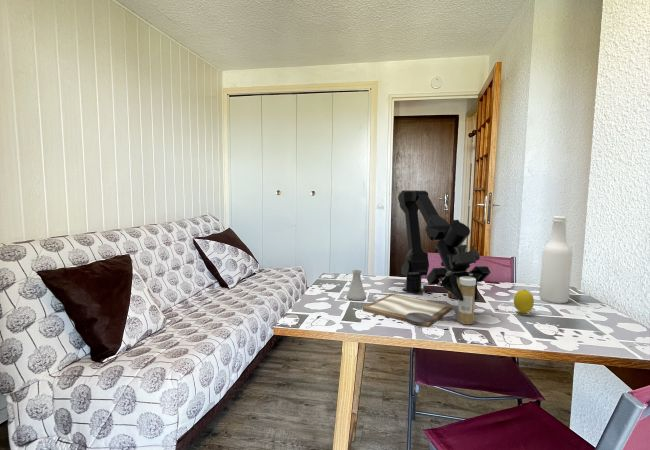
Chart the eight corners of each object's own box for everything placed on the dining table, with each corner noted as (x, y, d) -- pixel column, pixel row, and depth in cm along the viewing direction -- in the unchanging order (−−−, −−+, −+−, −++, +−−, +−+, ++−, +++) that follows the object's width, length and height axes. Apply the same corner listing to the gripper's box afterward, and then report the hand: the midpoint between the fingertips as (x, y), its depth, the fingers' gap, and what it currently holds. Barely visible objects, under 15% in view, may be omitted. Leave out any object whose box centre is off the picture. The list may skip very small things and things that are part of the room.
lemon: (530, 311, 115) (532, 287, 114) (534, 317, 110) (536, 292, 109) (511, 309, 117) (513, 286, 116) (514, 315, 112) (516, 290, 111)
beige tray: (391, 296, 131) (392, 292, 131) (452, 309, 117) (452, 305, 117) (361, 311, 114) (361, 307, 114) (426, 328, 101) (427, 324, 101)
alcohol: (568, 299, 129) (575, 216, 125) (567, 305, 121) (574, 218, 118) (540, 294, 134) (546, 215, 131) (538, 300, 127) (544, 216, 124)
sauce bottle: (446, 298, 128) (449, 244, 126) (447, 293, 134) (450, 241, 132) (466, 300, 126) (469, 245, 124) (466, 296, 132) (469, 242, 130)
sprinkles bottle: (476, 322, 106) (478, 277, 104) (469, 326, 103) (471, 280, 101) (461, 318, 109) (463, 275, 108) (454, 321, 106) (456, 277, 104)
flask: (366, 295, 132) (366, 268, 131) (366, 301, 125) (367, 273, 124) (346, 294, 132) (347, 268, 131) (345, 300, 125) (346, 272, 124)
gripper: (433, 241, 105) (452, 288, 96) (488, 240, 109) (512, 284, 100) (419, 262, 114) (436, 307, 104) (471, 260, 118) (491, 303, 108)
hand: (469, 300), depth 104 cm, fingers closed on sprinkles bottle, 4 cm apart
